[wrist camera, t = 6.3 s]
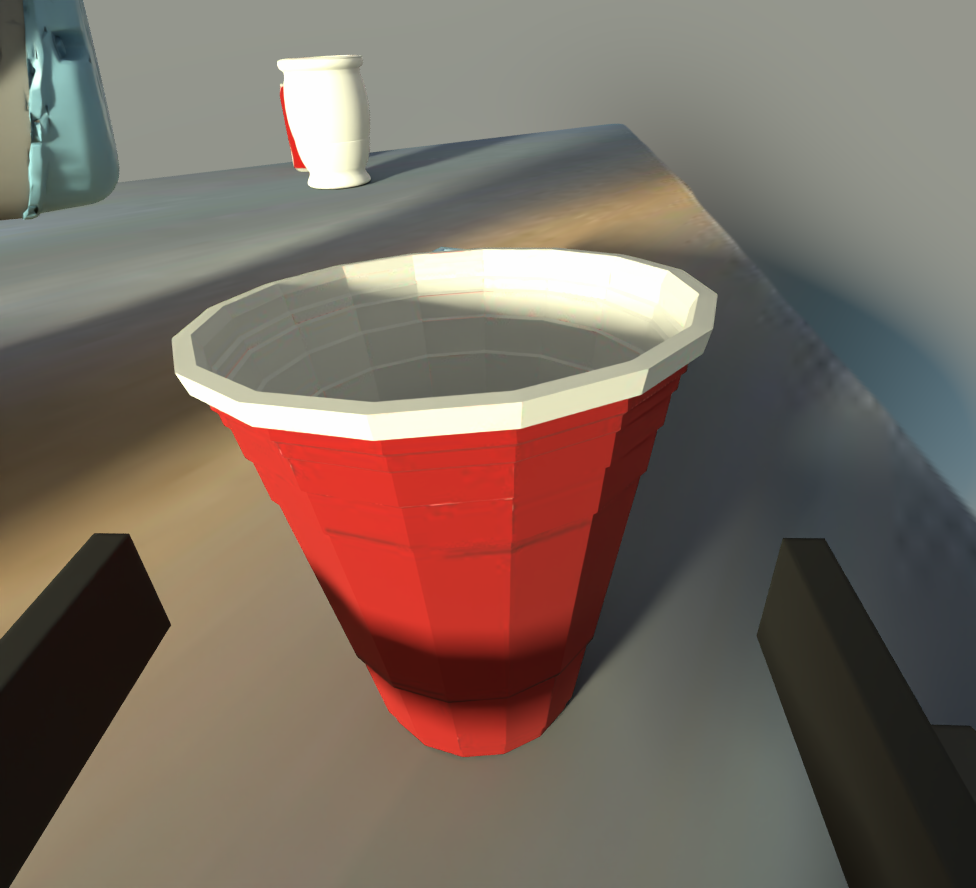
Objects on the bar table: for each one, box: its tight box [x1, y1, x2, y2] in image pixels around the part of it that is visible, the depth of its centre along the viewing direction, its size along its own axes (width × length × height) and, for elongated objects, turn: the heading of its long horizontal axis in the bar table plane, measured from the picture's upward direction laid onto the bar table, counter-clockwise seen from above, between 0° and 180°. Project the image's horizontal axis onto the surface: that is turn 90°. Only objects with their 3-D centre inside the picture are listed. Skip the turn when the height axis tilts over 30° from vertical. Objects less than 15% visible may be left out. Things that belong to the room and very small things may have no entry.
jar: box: [277, 55, 371, 189], centre depth 84 cm, size 11×10×15 cm
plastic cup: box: [172, 248, 718, 757], centre depth 16 cm, size 11×11×12 cm
